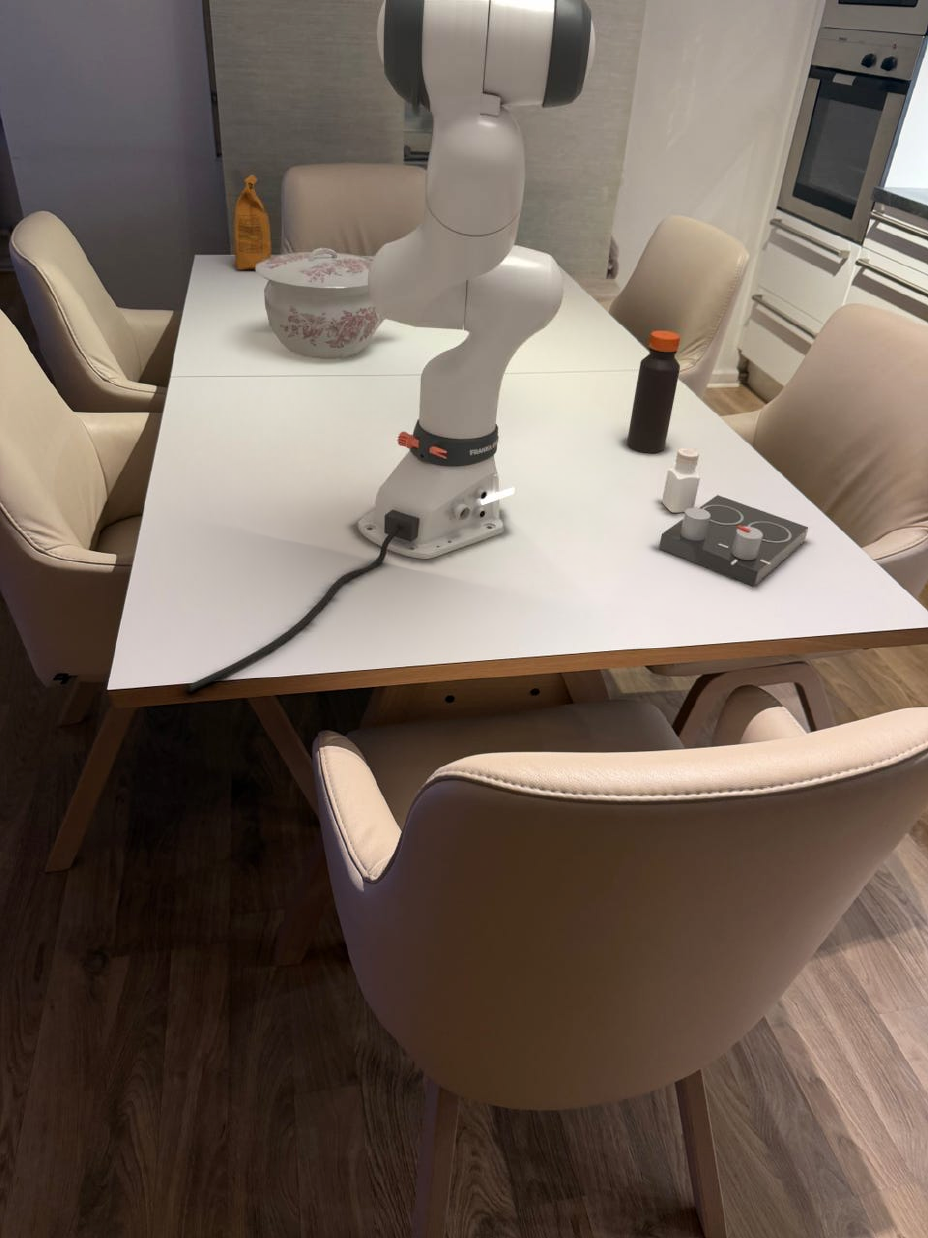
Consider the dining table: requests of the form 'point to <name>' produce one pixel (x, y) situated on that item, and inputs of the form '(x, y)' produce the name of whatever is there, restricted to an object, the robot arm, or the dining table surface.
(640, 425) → the bottle
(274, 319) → the chamber pot
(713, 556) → the hob
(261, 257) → the coffee package
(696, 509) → the hob zones
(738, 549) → the hob knob
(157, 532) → the dining table surface
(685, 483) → the pepper shaker
